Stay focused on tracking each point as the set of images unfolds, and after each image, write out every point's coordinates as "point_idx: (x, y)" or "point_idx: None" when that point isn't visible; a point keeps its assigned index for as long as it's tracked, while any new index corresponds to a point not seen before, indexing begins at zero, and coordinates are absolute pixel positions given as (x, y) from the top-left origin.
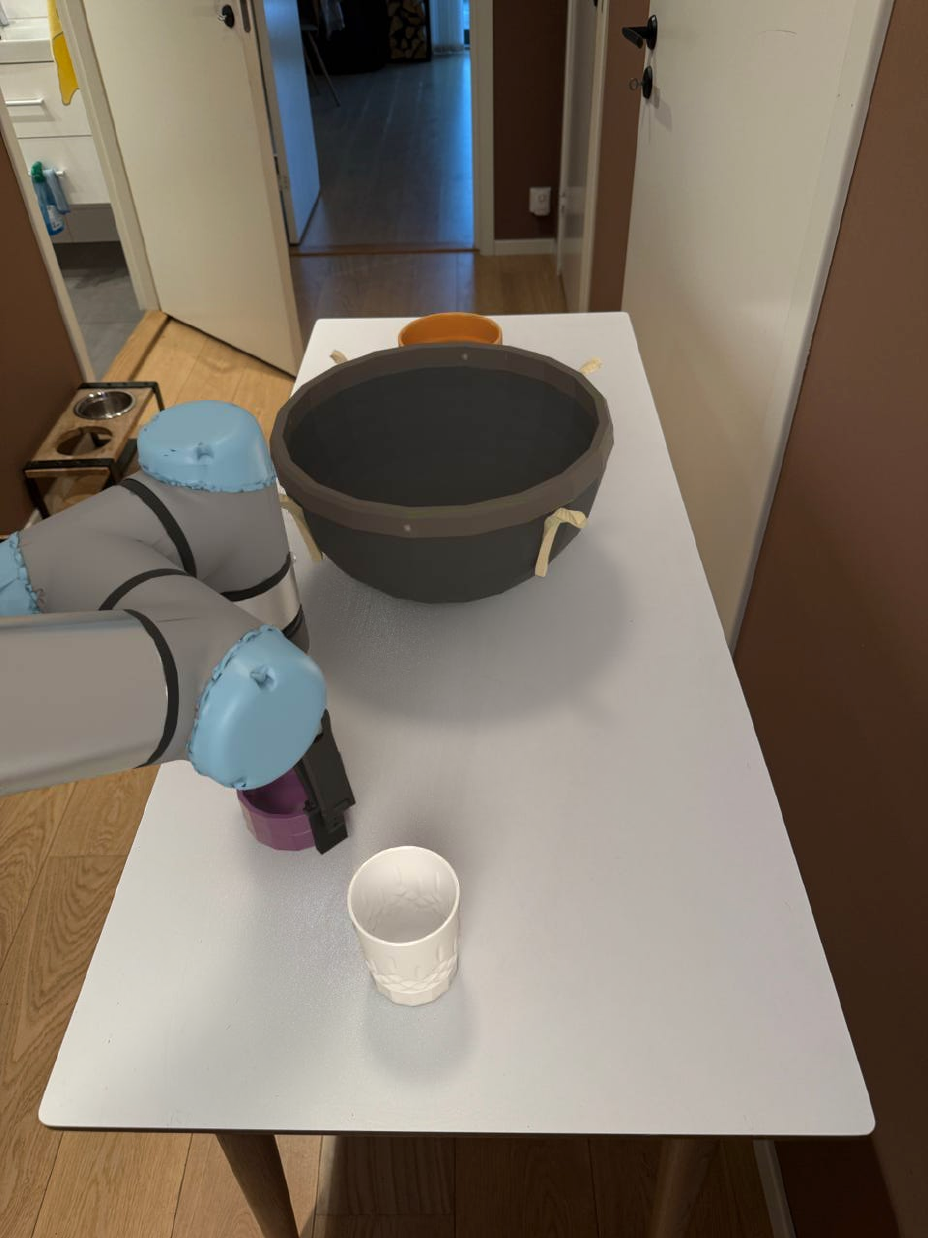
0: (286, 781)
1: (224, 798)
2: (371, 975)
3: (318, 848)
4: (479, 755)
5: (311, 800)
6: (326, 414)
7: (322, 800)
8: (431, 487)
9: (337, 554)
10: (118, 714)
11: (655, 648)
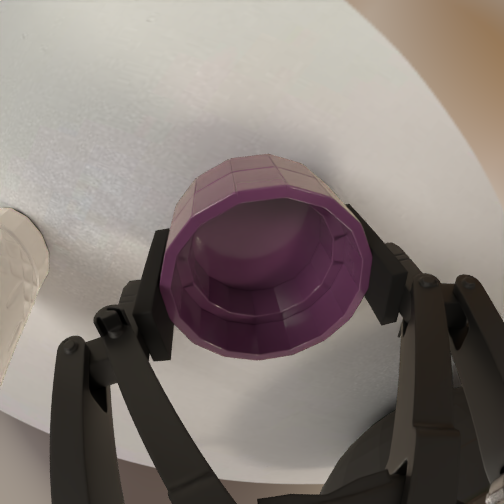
0: (313, 242)
1: (366, 146)
2: (6, 209)
3: (158, 236)
4: (219, 389)
5: (116, 341)
6: None
7: (54, 387)
8: None
9: (472, 443)
10: None
11: (236, 467)
